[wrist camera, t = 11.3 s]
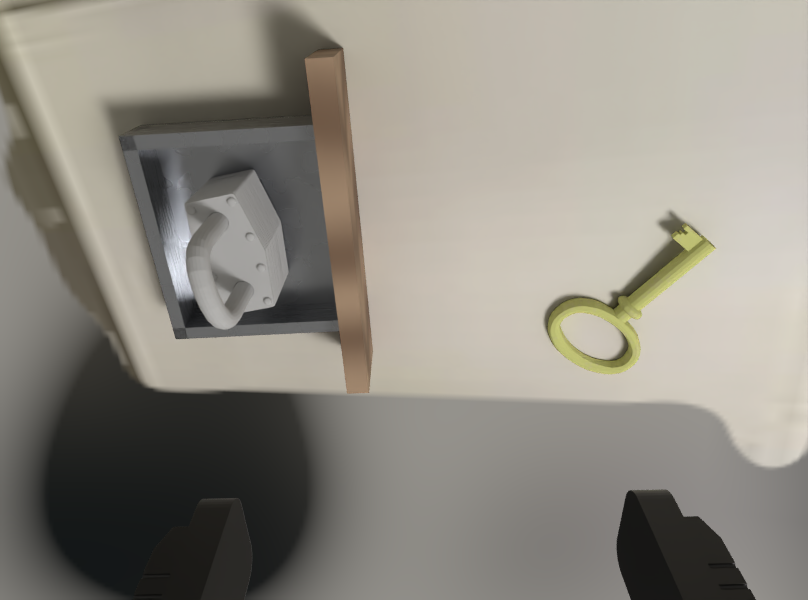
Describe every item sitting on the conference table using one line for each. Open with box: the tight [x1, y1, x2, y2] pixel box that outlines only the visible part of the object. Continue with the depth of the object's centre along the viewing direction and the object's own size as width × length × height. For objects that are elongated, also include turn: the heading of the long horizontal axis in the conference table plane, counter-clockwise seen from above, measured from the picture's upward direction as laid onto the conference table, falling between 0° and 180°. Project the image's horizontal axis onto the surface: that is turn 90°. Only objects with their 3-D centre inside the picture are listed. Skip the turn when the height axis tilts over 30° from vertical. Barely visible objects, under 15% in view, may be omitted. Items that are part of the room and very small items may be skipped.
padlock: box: [185, 169, 289, 330], centre depth 33 cm, size 7×4×10 cm, turn 12°
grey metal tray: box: [119, 115, 339, 339], centre depth 36 cm, size 13×11×3 cm
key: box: [547, 223, 716, 374], centre depth 39 cm, size 7×12×2 cm, turn 161°
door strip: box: [305, 48, 373, 394], centre depth 35 cm, size 20×1×5 cm, turn 3°
